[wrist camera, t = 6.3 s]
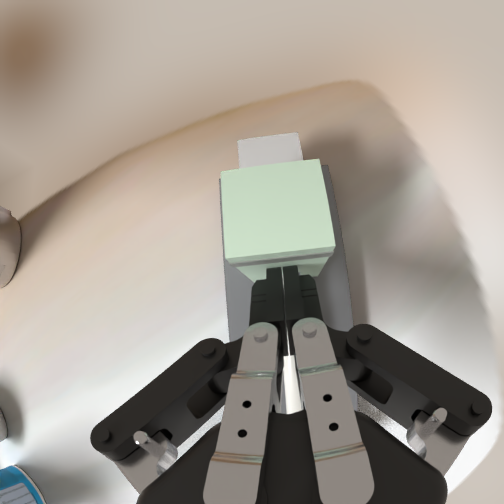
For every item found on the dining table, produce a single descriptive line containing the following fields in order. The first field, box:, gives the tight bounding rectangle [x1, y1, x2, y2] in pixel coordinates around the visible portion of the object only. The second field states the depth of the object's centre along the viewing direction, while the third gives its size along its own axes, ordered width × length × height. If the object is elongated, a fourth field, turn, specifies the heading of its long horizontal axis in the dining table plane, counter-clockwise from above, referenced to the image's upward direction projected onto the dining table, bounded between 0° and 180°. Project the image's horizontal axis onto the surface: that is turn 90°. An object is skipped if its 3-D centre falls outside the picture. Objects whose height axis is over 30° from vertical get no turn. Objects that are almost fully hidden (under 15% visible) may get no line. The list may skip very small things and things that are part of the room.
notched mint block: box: [221, 159, 336, 283], centre depth 14 cm, size 4×4×8 cm
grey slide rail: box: [219, 132, 358, 414], centre depth 16 cm, size 21×8×6 cm, turn 5°
